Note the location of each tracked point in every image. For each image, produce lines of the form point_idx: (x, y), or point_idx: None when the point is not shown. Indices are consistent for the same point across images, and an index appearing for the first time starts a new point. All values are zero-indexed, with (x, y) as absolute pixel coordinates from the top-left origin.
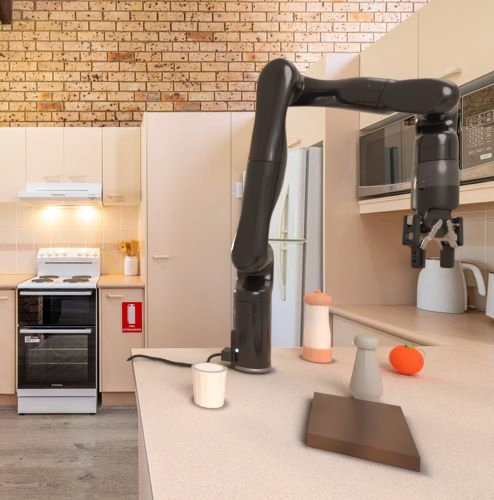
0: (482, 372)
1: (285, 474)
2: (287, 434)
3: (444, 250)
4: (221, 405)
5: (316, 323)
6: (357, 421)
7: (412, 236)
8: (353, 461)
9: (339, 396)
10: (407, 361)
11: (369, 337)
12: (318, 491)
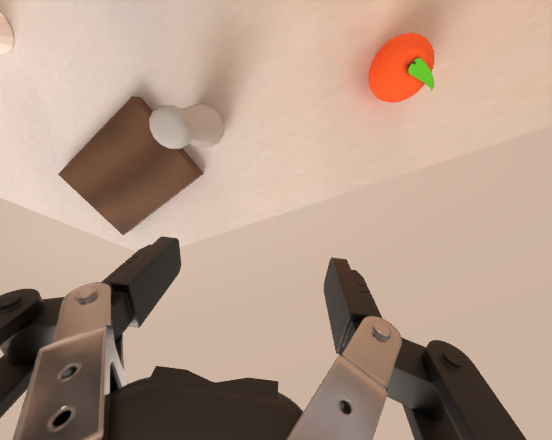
0: (510, 133)
1: (31, 192)
2: (62, 148)
3: (342, 325)
4: (7, 51)
5: None
6: (121, 179)
7: (48, 352)
8: None
9: None
10: (373, 87)
11: (161, 139)
12: (45, 214)
